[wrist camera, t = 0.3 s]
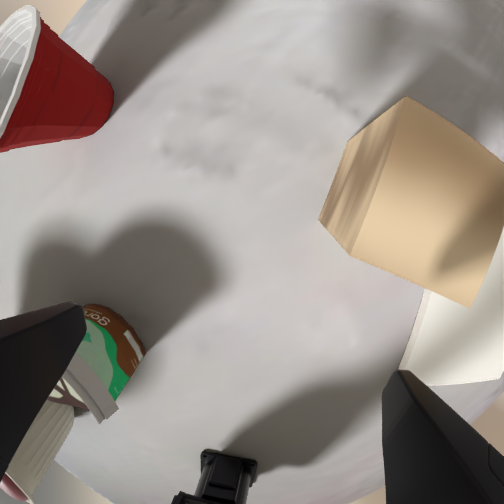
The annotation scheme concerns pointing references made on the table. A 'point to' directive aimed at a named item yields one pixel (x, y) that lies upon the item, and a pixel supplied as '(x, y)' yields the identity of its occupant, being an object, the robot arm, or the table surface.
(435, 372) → the cutting board
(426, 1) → the table surface
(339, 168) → the wooden block
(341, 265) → the table surface
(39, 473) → the canister
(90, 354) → the food container
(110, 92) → the plastic cup
